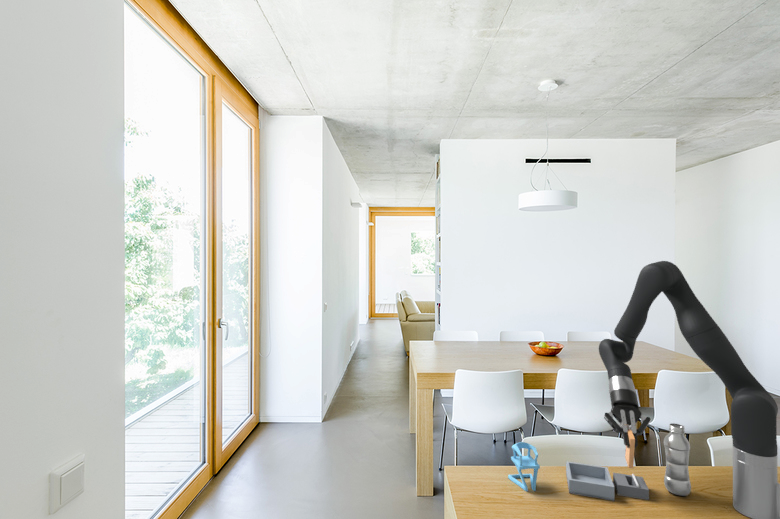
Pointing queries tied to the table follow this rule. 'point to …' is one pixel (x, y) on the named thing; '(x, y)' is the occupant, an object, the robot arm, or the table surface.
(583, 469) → the tray
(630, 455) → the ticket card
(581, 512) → the table surface
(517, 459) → the chair
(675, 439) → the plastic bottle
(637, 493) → the ticket dispenser
